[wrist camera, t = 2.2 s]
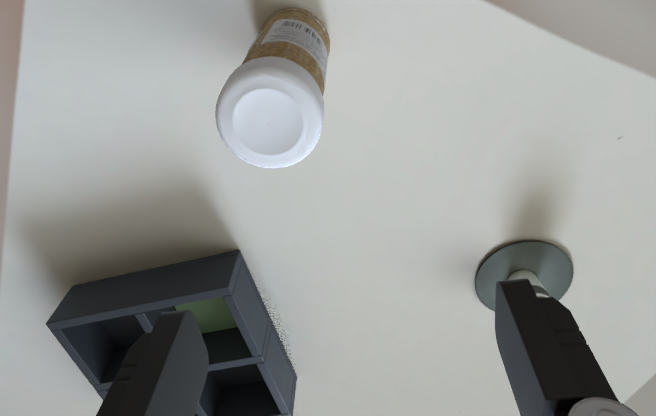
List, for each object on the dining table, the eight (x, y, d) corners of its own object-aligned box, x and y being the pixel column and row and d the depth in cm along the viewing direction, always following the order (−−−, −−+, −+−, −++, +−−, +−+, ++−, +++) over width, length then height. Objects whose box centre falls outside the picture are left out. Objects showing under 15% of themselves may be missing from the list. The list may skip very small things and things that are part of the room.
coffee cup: (576, 196, 38) (605, 234, 34) (611, 307, 43) (639, 352, 39) (423, 253, 41) (432, 294, 37) (473, 350, 46) (486, 396, 42)
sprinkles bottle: (245, 43, 33) (190, 121, 21) (294, -11, 31) (263, 43, 20) (297, 93, 34) (271, 191, 23) (346, 45, 33) (345, 124, 21)
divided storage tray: (72, 285, 44) (45, 323, 40) (239, 249, 41) (228, 286, 37) (151, 401, 52) (134, 442, 48) (297, 376, 49) (292, 418, 45)
